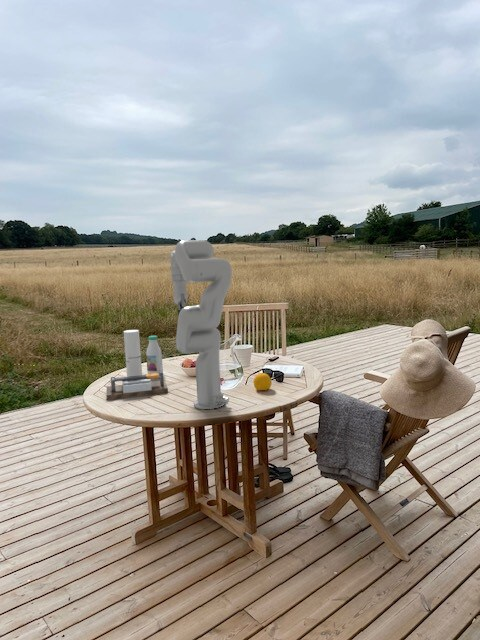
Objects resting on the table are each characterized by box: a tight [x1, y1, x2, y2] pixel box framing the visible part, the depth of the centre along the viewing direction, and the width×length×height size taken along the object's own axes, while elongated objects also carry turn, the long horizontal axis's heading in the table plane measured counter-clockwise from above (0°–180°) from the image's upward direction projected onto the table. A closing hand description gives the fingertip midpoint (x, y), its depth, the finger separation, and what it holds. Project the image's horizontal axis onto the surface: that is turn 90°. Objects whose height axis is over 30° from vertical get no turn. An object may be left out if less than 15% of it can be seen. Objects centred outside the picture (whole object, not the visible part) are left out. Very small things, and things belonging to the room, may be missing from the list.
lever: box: [112, 373, 160, 382], centre depth 202 cm, size 20×4×1 cm, turn 106°
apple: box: [253, 372, 272, 391], centre depth 198 cm, size 8×8×8 cm
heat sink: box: [110, 370, 165, 393], centre depth 202 cm, size 23×14×6 cm, turn 106°
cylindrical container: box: [123, 329, 143, 377], centre depth 217 cm, size 7×7×25 cm
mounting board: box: [106, 380, 169, 401], centre depth 203 cm, size 26×14×2 cm, turn 106°
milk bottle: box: [146, 335, 164, 377], centre depth 229 cm, size 8×8×20 cm
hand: (182, 318), depth 207 cm, fingers closed
